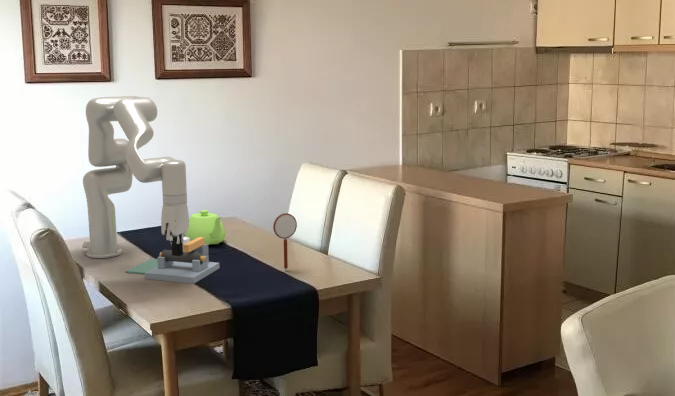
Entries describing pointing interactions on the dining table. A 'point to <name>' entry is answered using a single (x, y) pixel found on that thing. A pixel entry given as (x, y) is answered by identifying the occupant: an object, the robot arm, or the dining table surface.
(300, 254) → the dining table surface
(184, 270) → the grey cradle stand
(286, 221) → the magnifying glass
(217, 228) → the teapot
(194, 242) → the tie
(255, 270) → the dining table surface
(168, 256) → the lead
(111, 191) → the robot arm
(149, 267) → the mat
